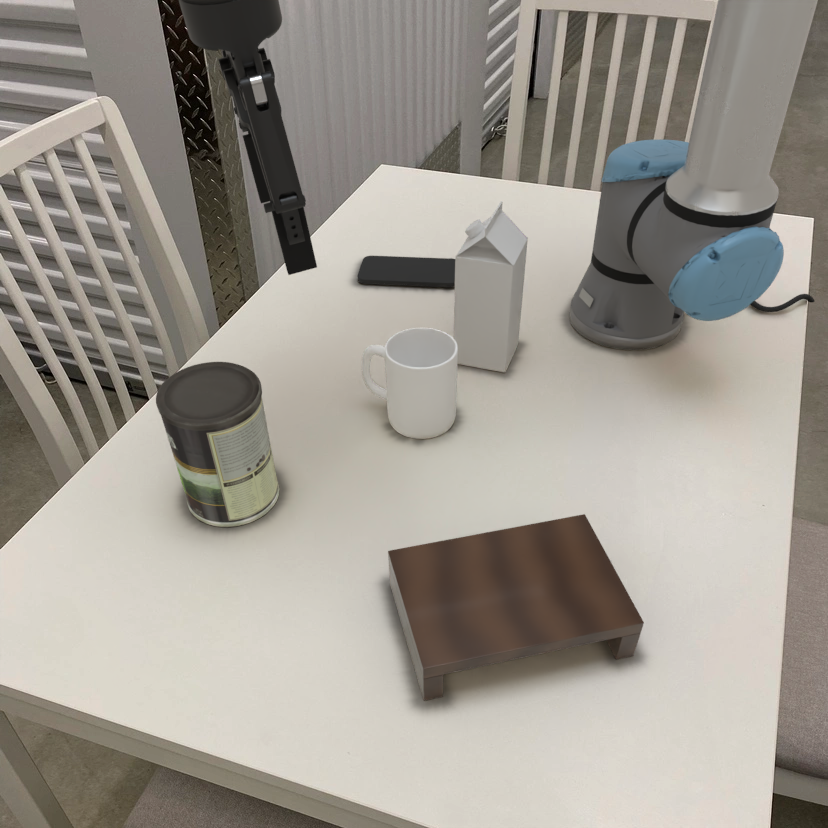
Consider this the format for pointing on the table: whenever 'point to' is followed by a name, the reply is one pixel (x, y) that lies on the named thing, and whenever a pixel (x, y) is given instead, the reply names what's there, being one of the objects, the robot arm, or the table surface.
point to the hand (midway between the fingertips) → (287, 232)
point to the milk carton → (489, 292)
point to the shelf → (509, 598)
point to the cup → (417, 380)
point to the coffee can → (220, 442)
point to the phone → (407, 271)
